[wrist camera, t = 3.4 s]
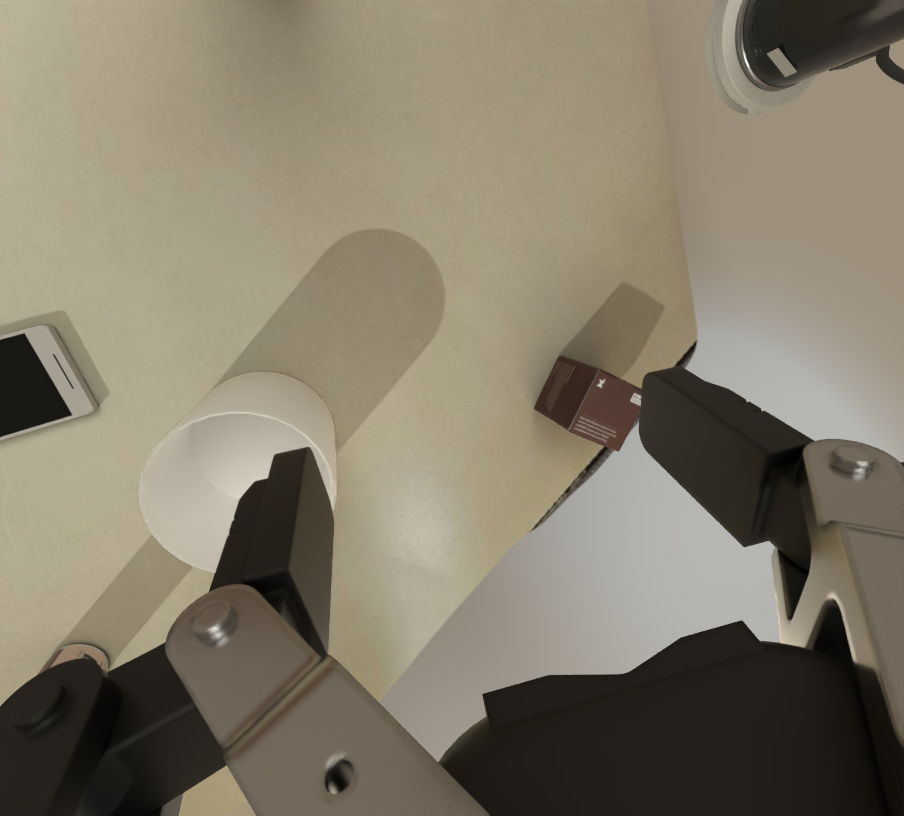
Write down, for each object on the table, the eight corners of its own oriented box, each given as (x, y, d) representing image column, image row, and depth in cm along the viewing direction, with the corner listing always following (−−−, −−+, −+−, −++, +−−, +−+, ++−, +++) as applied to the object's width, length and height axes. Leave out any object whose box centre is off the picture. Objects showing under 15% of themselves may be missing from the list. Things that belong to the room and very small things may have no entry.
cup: (163, 448, 39) (94, 519, 27) (249, 342, 38) (215, 370, 27) (281, 518, 43) (264, 604, 32) (361, 424, 42) (372, 478, 31)
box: (531, 408, 46) (566, 431, 39) (558, 353, 45) (598, 367, 38) (578, 428, 48) (619, 453, 41) (605, 376, 47) (651, 393, 40)
